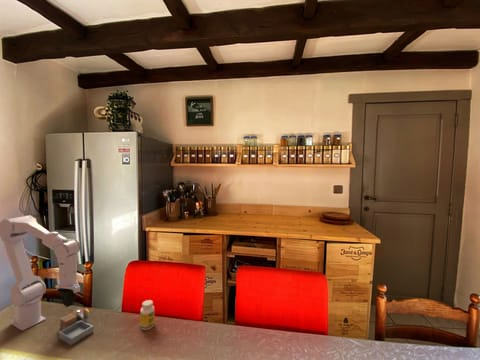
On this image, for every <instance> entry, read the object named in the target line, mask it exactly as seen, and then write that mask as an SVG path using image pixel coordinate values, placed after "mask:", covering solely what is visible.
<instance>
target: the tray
mask: <svg viewBox="0 0 480 360" xmlns="http://www.w3.org/2000/svg"><path fill="white" fill-rule="evenodd" d="M93 333H94V325H92V324H90V323H88V322H87V321H83V320H82V319H80V320H78V321H77V322H76V323H74V324H73V325H71V326H69V327H67V328H65V329H63V330H60V331H58V340H60V341H62V342H64V343H66V344H68V345H69V346H71V347H72V346H73V345H75V344H76V343H78V342H80V341H82V340H83V339H85V338H86V337H88V336H89V335H91V334H93Z"/></svg>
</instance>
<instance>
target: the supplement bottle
mask: <svg viewBox="0 0 480 360" xmlns="http://www.w3.org/2000/svg"><path fill="white" fill-rule="evenodd" d="M141 306H142V307H140V312H139V313H140V315H139V327H140V329H141V330H143V331H148V330H150V329H152V328H153V327H154V326H155V306H154V302H153V300H151V299H149V300H148V299H146V300H145V301H143V302H142V304H141Z"/></svg>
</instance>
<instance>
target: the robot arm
mask: <svg viewBox="0 0 480 360" xmlns="http://www.w3.org/2000/svg"><path fill="white" fill-rule="evenodd" d="M59 233H60V232H58V231H51V232H50V231H49V230H47V229H46V228H44V226H42V225H41V224H40V223H38V221H37V218H36V217H33V216H32V215H30V214H28V215H24V216H18V217H12V218H5V219H2V220H1V221H0V240H1V242H3V244H4V248H5V251H6V253H7V257H8V260H9V263H10V265H11V269H12V272H13V274H14V275H13V276H14V277H15V278H14V279H15V281H16V282H15V283H14V284H13V285H12V286H11V288H10V289H9V291H10V302H11V304H12V305H14V306H13V321H11V322H10V325H12V326H14V327H15V328H17V329H18V330H19V331H20V330H21V331H25V330H26V329H29V328H31V327H32V326H35V325H37V324H39V323H42V322H43V321H45V320H46V317H44V316H43V315H42V303H41V302H42V301H41V299H43V295H44V294H45V293H46V290H47V286H46V284H45V282H44V281H43V280H42V277H41V276H38V275H34V273H33V270H32V266H31V264H30V260H29V257H28V255H27V251H26V249H25V246H24V242H23V239H24V238H25V236H27V235H28V234H30V235H31V236H35V237H36V238H38V239H40V240H41V243H42V245H44V246H46V247H47V248H49V249H50V250H52V251H54V255H55V256H56V259H57V263H58V278H56V284H57V285H55V289H56V291H57V293H59V295H60V298H61V301H62V304H63V306H64V307H66V308H69V307H71V306H73V305H74V301H75V297H76V295H77V293H79V292H81V286H80V285H79V282H78V274H77V271H78V270H77V269H78V267H77V264H78V258H77V257H78V253H79V252H80V251H81V243H80V242H79V241H78V240H77V239H70V238H69V239H68V237H64V236H63V235H61V234H59Z"/></svg>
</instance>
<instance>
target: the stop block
mask: <svg viewBox="0 0 480 360" xmlns="http://www.w3.org/2000/svg"><path fill="white" fill-rule="evenodd" d="M77 319H78V318H77V316H75V315H74V314H72V312H71V313H69V314H66V315H65V316H62V317H60V318H59V329H60V331H62V330H63V329H65V328H67V327H69V326H71V325H73V324H74V323H76V322H78V321H77Z"/></svg>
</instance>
